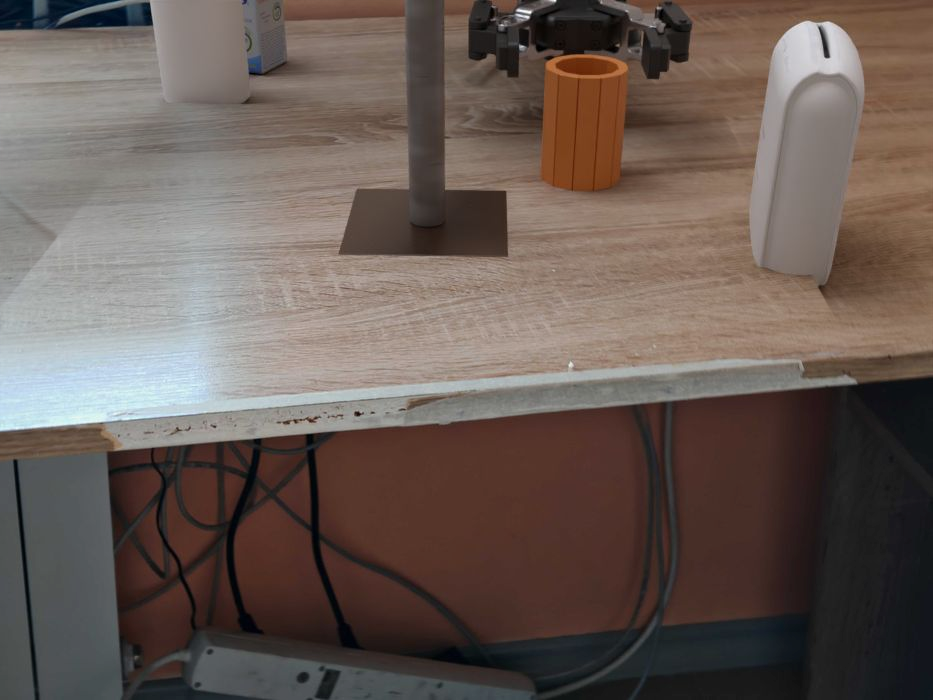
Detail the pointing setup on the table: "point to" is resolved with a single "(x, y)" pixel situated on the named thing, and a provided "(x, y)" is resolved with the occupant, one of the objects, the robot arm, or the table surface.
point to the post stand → (426, 171)
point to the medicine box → (264, 34)
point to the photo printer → (805, 150)
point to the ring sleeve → (583, 121)
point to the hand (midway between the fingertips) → (584, 62)
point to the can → (201, 51)
